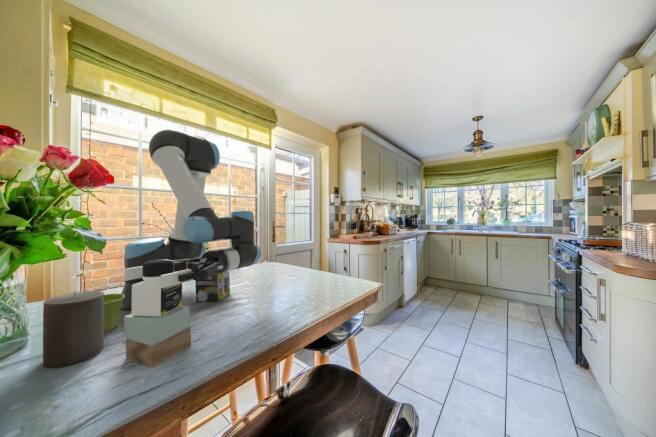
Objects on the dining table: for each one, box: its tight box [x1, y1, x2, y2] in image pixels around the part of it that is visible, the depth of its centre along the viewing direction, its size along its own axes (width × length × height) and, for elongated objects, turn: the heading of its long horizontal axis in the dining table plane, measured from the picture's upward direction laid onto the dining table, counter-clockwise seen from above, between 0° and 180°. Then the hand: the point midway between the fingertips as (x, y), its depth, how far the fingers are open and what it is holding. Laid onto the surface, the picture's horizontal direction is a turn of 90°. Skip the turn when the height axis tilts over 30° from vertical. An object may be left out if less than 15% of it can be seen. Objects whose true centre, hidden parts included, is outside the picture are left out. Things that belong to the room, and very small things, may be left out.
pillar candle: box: [42, 290, 105, 369], centre depth 55 cm, size 10×10×15 cm
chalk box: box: [194, 272, 231, 303], centre depth 92 cm, size 9×9×15 cm
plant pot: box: [104, 293, 125, 333], centre depth 67 cm, size 9×9×9 cm
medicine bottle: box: [130, 259, 183, 317], centre depth 56 cm, size 7×7×12 cm
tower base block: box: [125, 326, 192, 368], centre depth 56 cm, size 9×9×5 cm
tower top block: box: [123, 305, 191, 346], centre depth 56 cm, size 9×9×5 cm
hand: (142, 278), depth 53 cm, fingers open, 13 cm apart
